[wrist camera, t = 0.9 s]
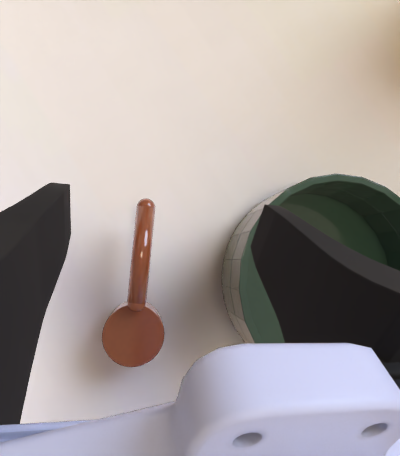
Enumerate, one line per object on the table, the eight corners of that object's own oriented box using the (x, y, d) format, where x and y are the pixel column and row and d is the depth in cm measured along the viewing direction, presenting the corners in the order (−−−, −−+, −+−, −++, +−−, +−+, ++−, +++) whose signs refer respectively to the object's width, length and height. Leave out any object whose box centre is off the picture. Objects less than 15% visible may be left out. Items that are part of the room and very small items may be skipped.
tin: (389, 374, 27) (443, 400, 22) (214, 369, 24) (231, 397, 20) (391, 199, 28) (442, 187, 23) (228, 180, 26) (247, 161, 21)
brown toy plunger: (159, 356, 24) (162, 374, 20) (103, 354, 23) (95, 372, 20) (172, 209, 25) (177, 200, 21) (119, 203, 25) (115, 193, 21)
